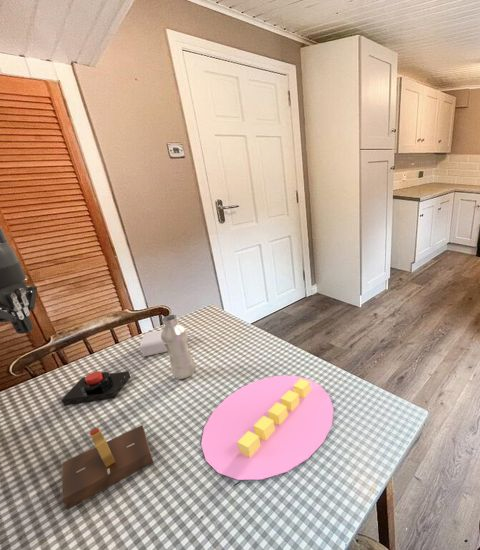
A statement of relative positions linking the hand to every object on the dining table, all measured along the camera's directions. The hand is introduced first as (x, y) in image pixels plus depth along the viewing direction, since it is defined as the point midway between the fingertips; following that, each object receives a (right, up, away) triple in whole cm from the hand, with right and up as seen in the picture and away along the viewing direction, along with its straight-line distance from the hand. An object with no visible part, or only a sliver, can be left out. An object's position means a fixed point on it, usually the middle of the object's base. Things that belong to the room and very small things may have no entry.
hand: (26, 331), depth 72 cm
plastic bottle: (+25, -17, +21) cm, 37 cm away
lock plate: (+26, -28, -6) cm, 39 cm away
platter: (+57, -23, +6) cm, 62 cm away
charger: (+12, -12, +35) cm, 39 cm away
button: (+4, -16, +14) cm, 22 cm away
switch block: (+4, -20, +15) cm, 25 cm away
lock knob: (+26, -25, -8) cm, 37 cm away
